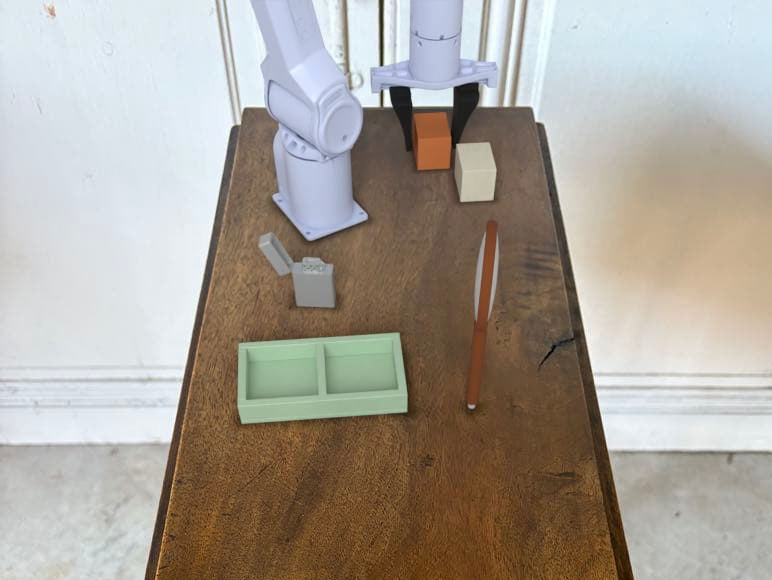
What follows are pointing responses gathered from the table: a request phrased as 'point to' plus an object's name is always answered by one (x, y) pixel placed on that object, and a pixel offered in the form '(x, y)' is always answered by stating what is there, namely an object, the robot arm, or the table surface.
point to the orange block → (431, 141)
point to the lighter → (302, 274)
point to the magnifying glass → (482, 307)
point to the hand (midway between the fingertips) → (431, 145)
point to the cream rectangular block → (475, 172)
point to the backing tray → (321, 378)
